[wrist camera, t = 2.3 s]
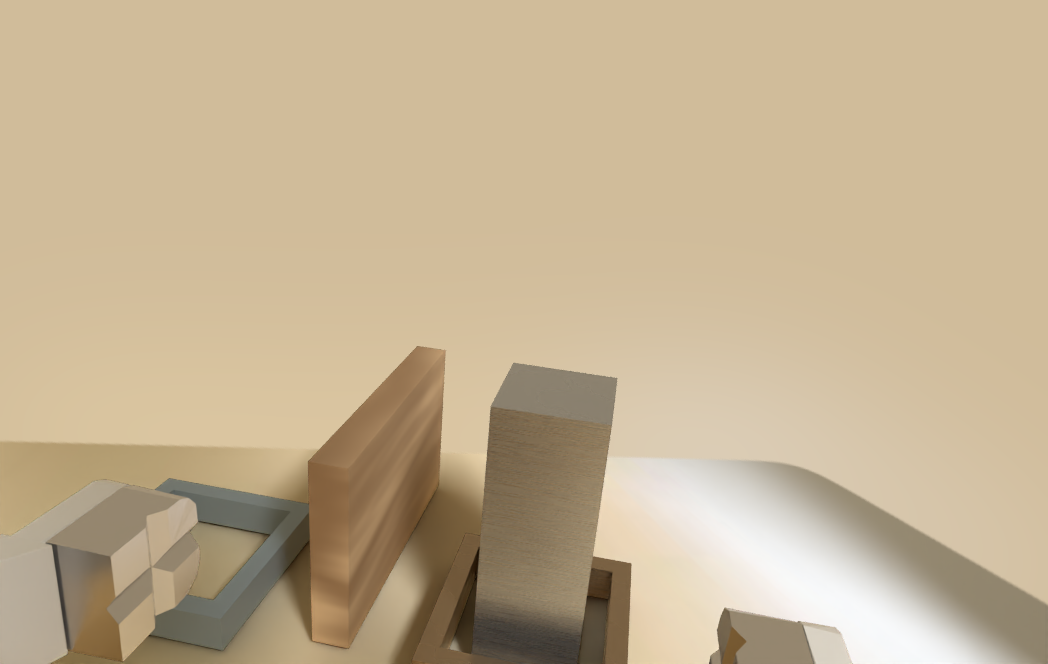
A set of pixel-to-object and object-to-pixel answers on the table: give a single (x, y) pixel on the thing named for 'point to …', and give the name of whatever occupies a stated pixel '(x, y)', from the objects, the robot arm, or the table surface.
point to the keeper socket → (255, 579)
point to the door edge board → (372, 493)
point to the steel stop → (540, 513)
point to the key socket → (433, 650)
